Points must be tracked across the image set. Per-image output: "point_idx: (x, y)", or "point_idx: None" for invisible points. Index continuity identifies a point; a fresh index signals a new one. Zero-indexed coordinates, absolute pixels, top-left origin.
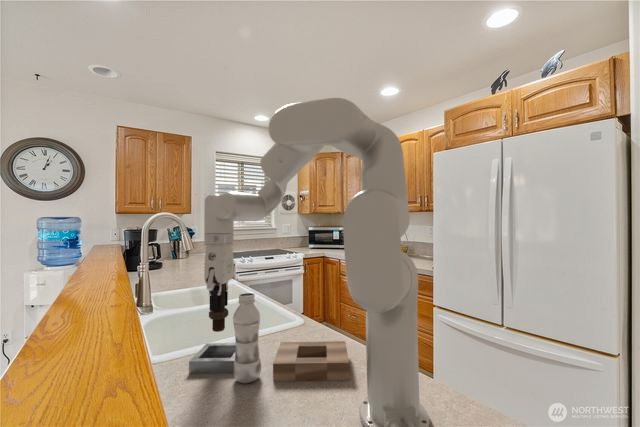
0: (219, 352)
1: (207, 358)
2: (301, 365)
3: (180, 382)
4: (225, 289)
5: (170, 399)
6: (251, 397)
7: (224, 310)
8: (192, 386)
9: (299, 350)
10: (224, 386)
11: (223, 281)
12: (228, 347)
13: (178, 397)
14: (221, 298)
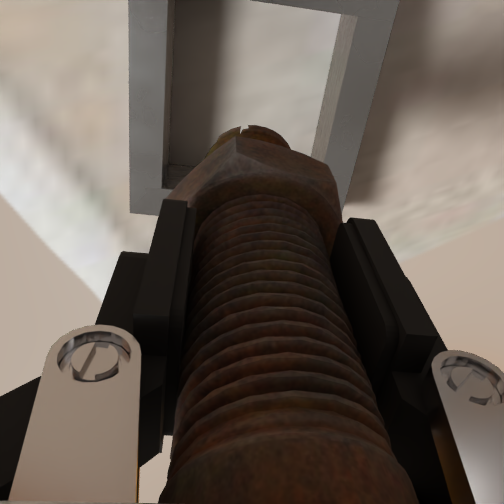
0: (167, 119)
1: (326, 156)
2: None
3: (389, 215)
4: (141, 366)
5: (500, 209)
6: None
7: (283, 190)
8: (438, 160)
9: None
10: (498, 8)
11: None
12: (167, 70)
13: (499, 187)
14: (417, 304)
